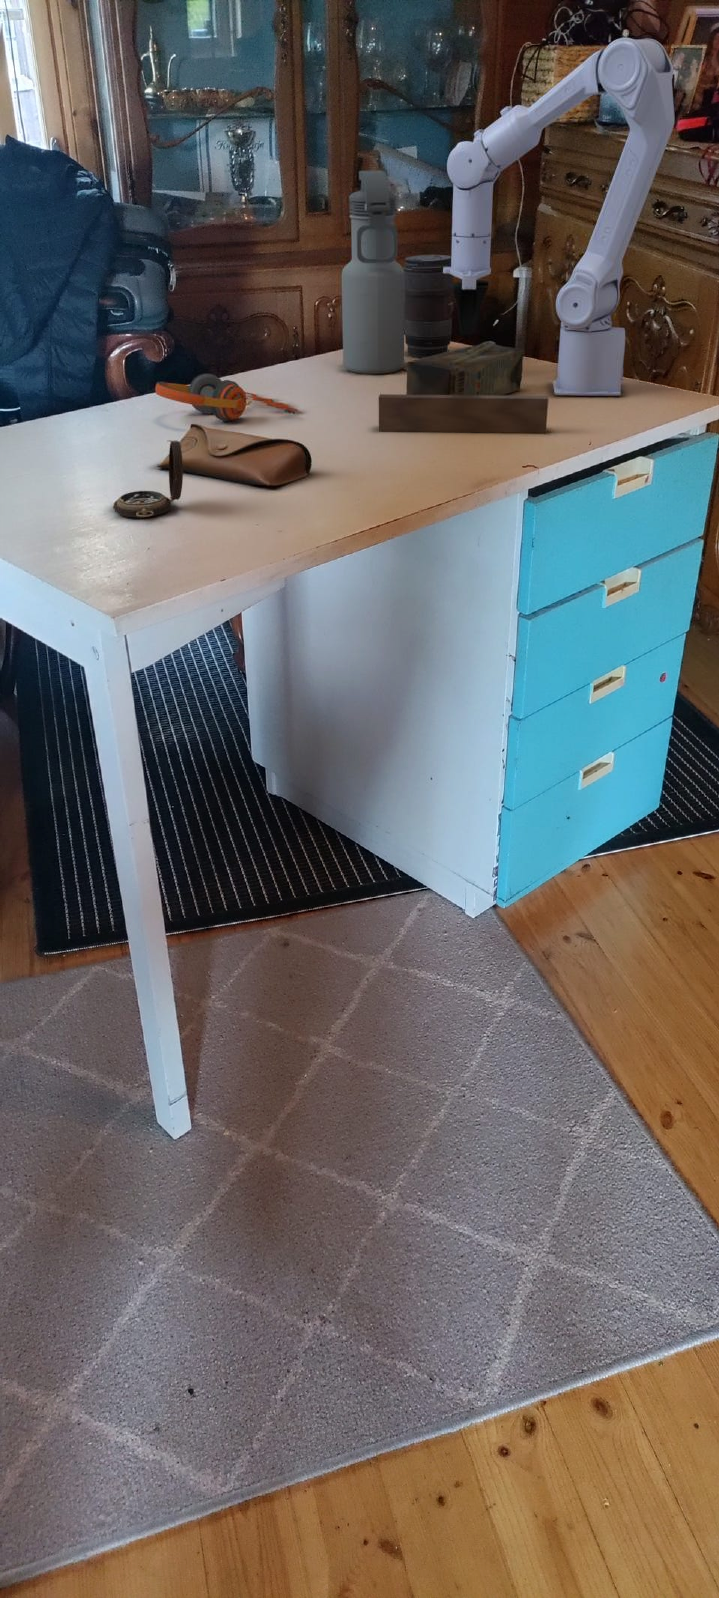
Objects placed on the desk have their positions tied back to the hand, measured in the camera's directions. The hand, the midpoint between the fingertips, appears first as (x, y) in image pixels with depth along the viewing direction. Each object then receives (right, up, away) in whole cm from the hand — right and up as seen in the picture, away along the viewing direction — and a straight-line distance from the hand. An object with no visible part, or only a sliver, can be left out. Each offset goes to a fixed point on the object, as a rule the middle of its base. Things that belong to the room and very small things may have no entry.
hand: (468, 333), depth 181 cm
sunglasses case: (-32, -32, -38) cm, 59 cm away
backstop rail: (-3, -22, -24) cm, 32 cm away
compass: (-39, -40, -51) cm, 76 cm away
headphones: (-35, -17, -15) cm, 42 cm away
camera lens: (-5, +4, +19) cm, 20 cm away
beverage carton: (-1, -13, -8) cm, 16 cm away
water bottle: (-14, -2, +10) cm, 17 cm away
